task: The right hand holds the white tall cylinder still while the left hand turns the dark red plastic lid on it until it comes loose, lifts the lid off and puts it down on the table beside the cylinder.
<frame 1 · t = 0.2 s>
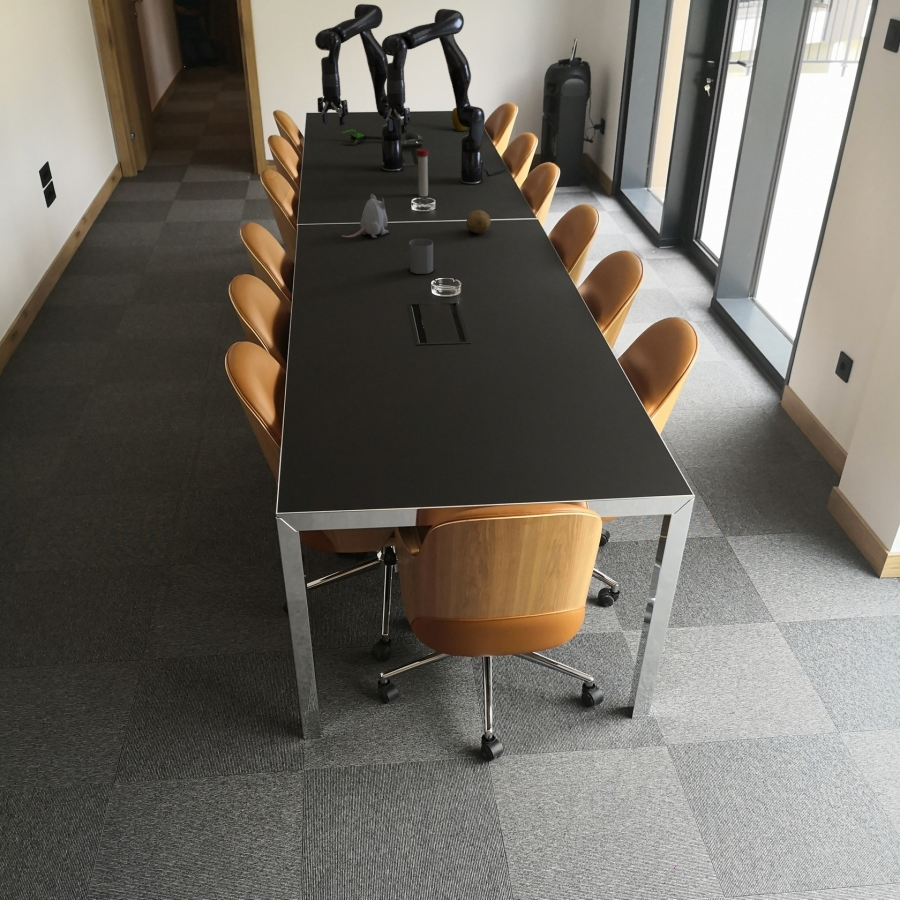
left hand: (333, 124, 373), 29 cm above the table, tool pointing down, fingers open, 8 cm apart
right hand: (397, 132, 361), 29 cm above the table, tool pointing down, fingers open, 8 cm apart
toy: (364, 238, 337), on the table
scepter: (369, 142, 467), on the table
potato: (478, 232, 343), on the table
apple: (461, 130, 491), on the table
cup: (421, 270, 308), on the table
lid: (422, 150, 375), point 19 cm above the table, screwed on, not yet turned
white tall cylinder: (423, 195, 385), on the table
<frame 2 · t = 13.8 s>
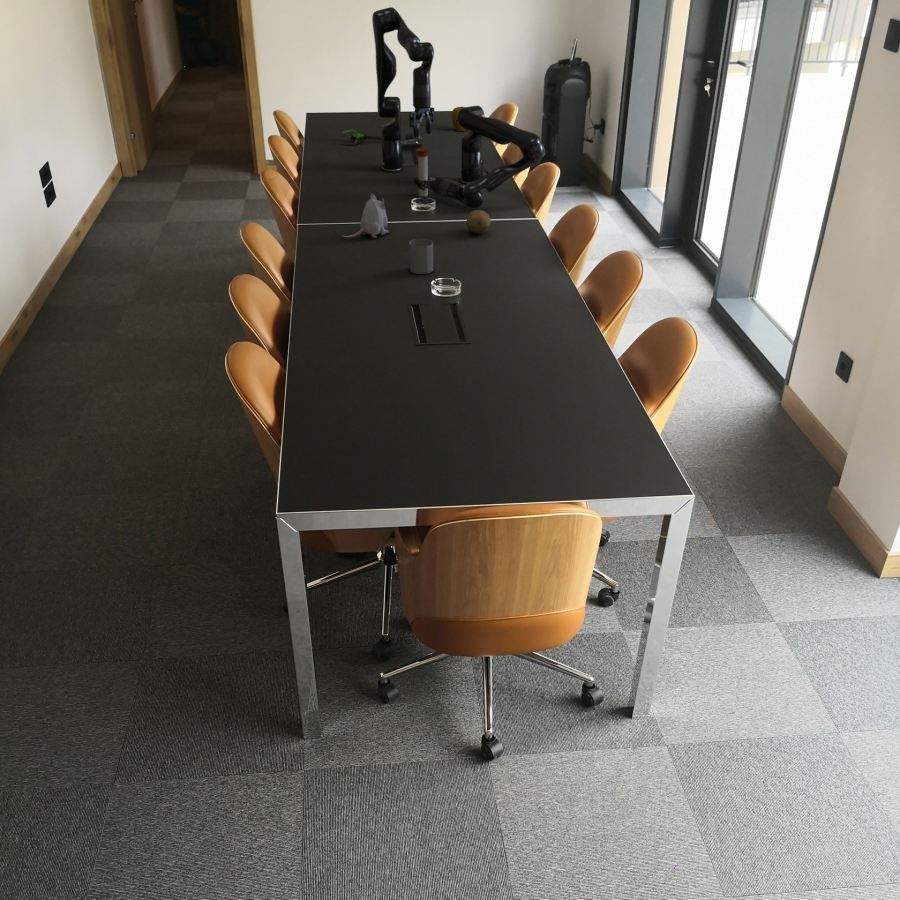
left hand: (422, 135, 371), 26 cm above the table, tool pointing down, fingers open, 7 cm apart
right hand: (418, 179, 384), 6 cm above the table, tool horizontal, fingers closed on white tall cylinder, 4 cm apart
white tall cylinder: (423, 195, 385), on the table, touching right hand
everything else where it was.
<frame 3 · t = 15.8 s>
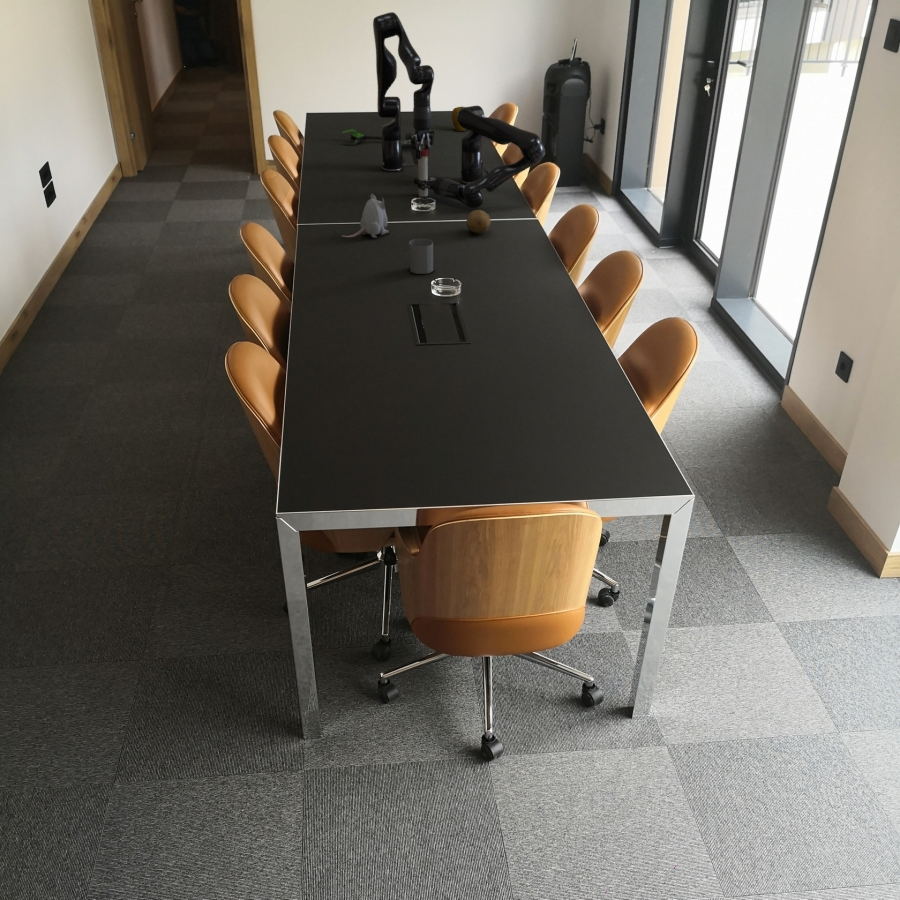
left hand: (422, 157, 376), 16 cm above the table, tool pointing down, fingers closed on lid, 5 cm apart
right hand: (418, 179, 384), 6 cm above the table, tool horizontal, fingers closed on white tall cylinder, 4 cm apart
lid: (422, 150, 375), point 19 cm above the table, screwed on, not yet turned, touching left hand
white tall cylinder: (423, 195, 385), on the table, touching right hand
everything else where it was.
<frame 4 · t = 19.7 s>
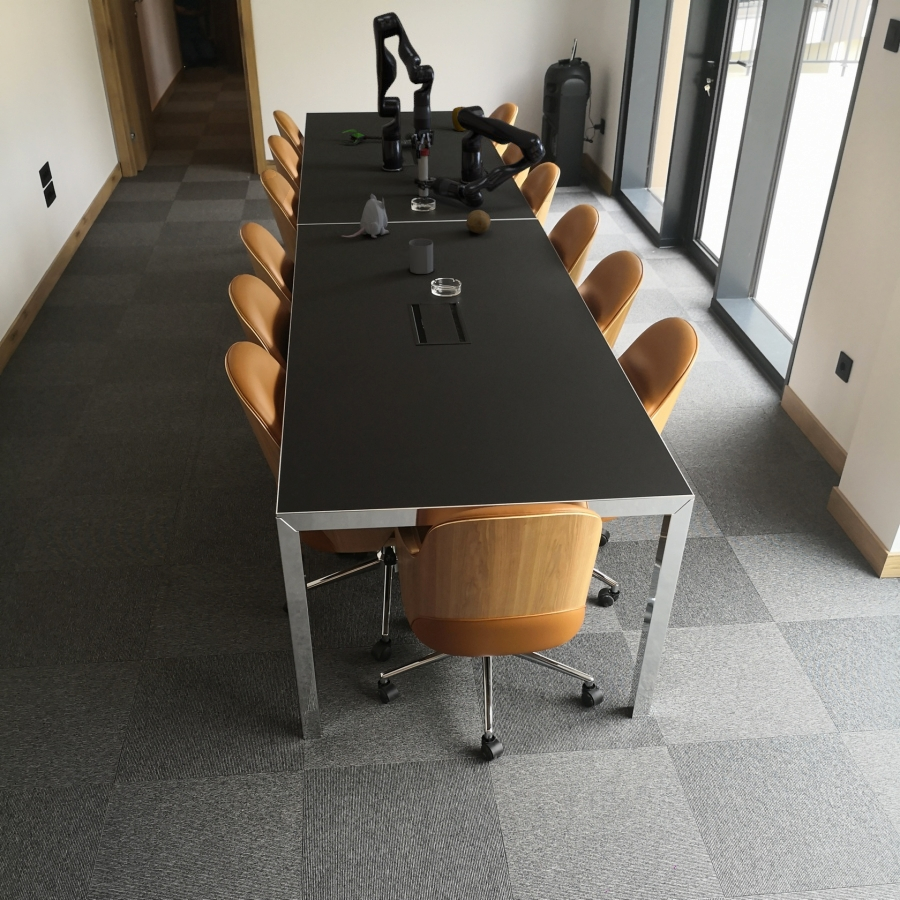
left hand: (422, 157, 376), 17 cm above the table, tool pointing down, fingers closed on lid, 5 cm apart
right hand: (419, 179, 384), 6 cm above the table, tool horizontal, fingers closed on white tall cylinder, 4 cm apart
lid: (422, 150, 375), point 19 cm above the table, turned 95° so far, risen 0.1 cm, still on its thread, touching left hand
white tall cylinder: (423, 195, 385), on the table, touching right hand
everything else where it was.
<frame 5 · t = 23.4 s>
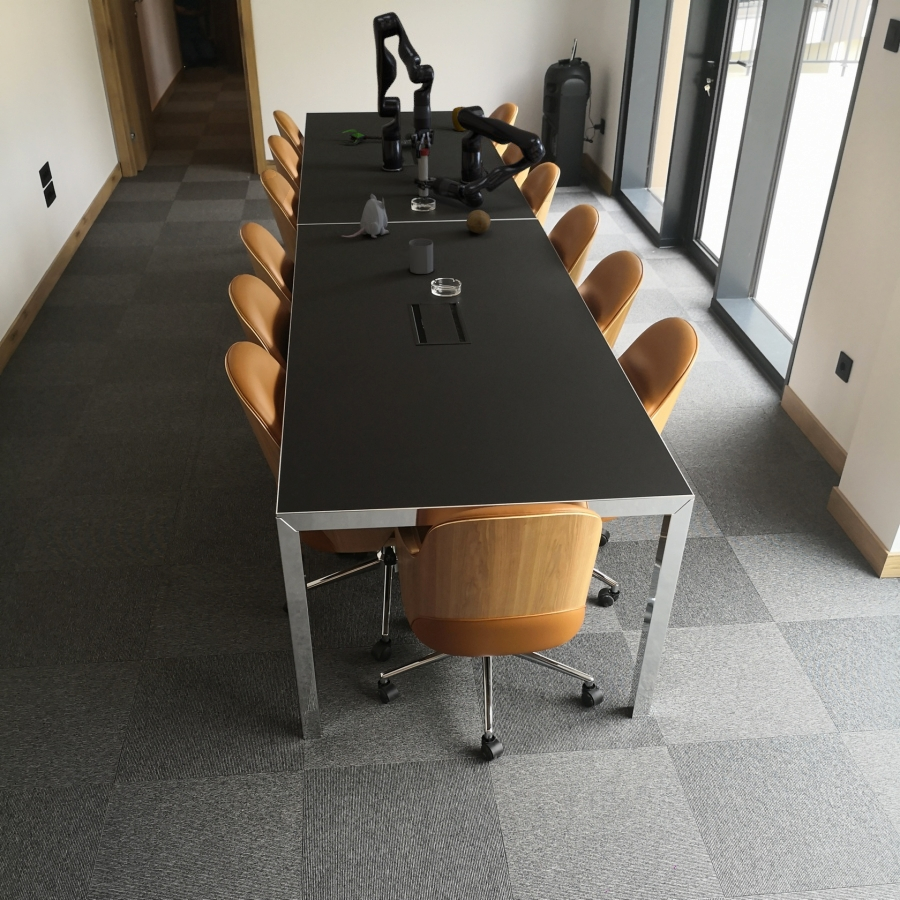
left hand: (422, 156, 376), 17 cm above the table, tool pointing down, fingers closed on lid, 5 cm apart
right hand: (419, 179, 384), 6 cm above the table, tool horizontal, fingers closed on white tall cylinder, 4 cm apart
lid: (422, 150, 375), point 20 cm above the table, turned 191° so far, risen 0.3 cm, still on its thread, touching left hand
white tall cylinder: (423, 195, 385), on the table, touching right hand
everything else where it was.
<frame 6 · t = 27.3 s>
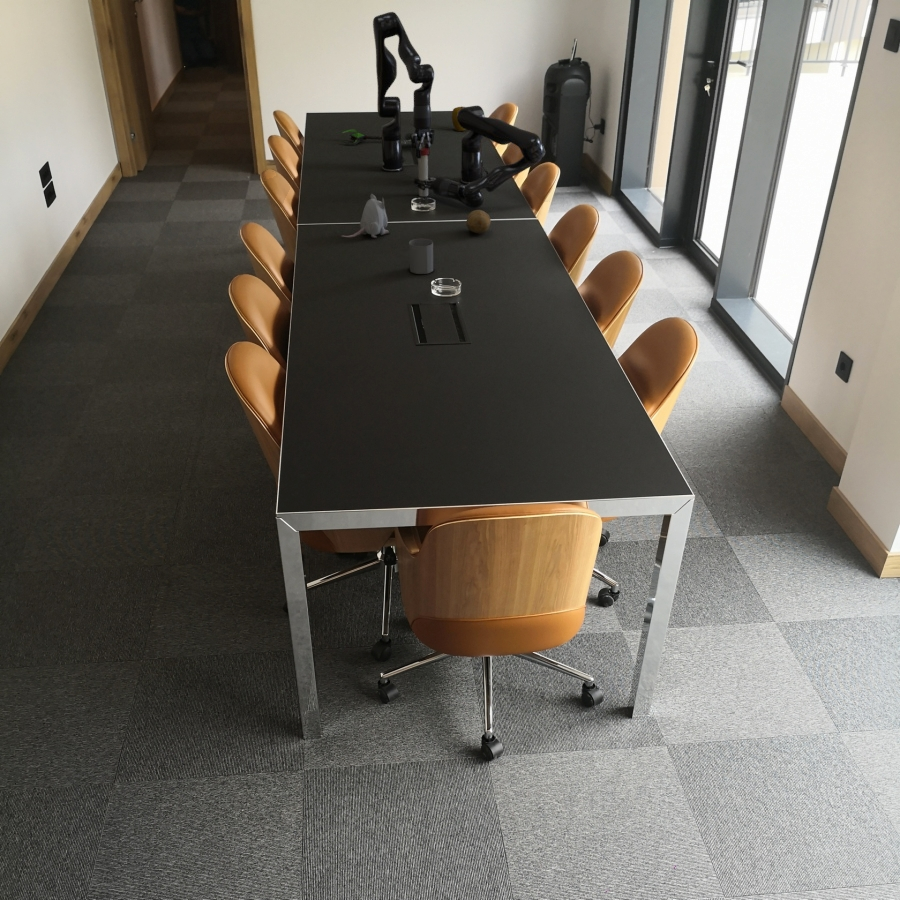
left hand: (422, 156, 376), 17 cm above the table, tool pointing down, fingers closed on lid, 5 cm apart
right hand: (419, 179, 384), 6 cm above the table, tool horizontal, fingers closed on white tall cylinder, 4 cm apart
lid: (422, 149, 375), point 20 cm above the table, turned 286° so far, risen 0.4 cm, still on its thread, touching left hand
white tall cylinder: (423, 195, 385), on the table, touching right hand
everything else where it was.
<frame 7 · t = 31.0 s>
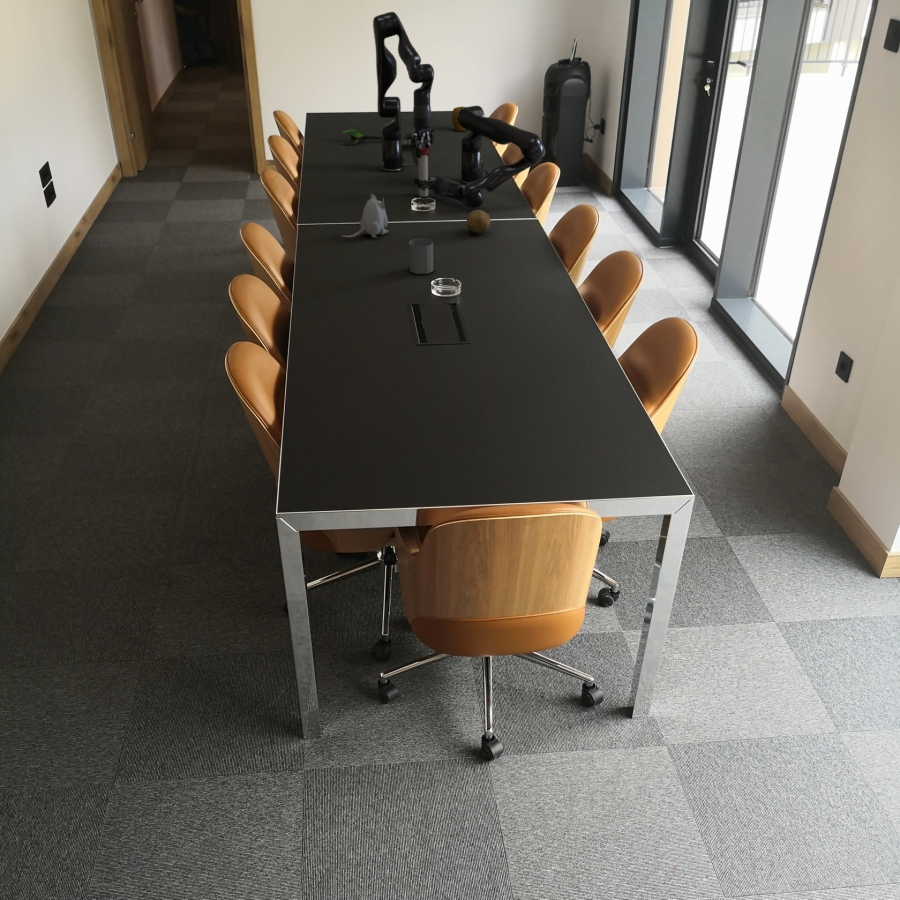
left hand: (422, 156, 376), 17 cm above the table, tool pointing down, fingers closed on lid, 5 cm apart
right hand: (419, 179, 384), 6 cm above the table, tool horizontal, fingers closed on white tall cylinder, 4 cm apart
lid: (422, 149, 375), point 20 cm above the table, turned 381° so far, risen 0.5 cm, still on its thread, touching left hand
white tall cylinder: (423, 195, 385), on the table, touching right hand
everything else where it was.
when the left hand's fingers open (1 cm above the table, at t = 41.7 s): lid drops 2 cm, point 2 cm above the table.
when the right hand's fingers open (6 cm above the table, at t = 42.8 s): white tall cylinder stays where it is, on the table.
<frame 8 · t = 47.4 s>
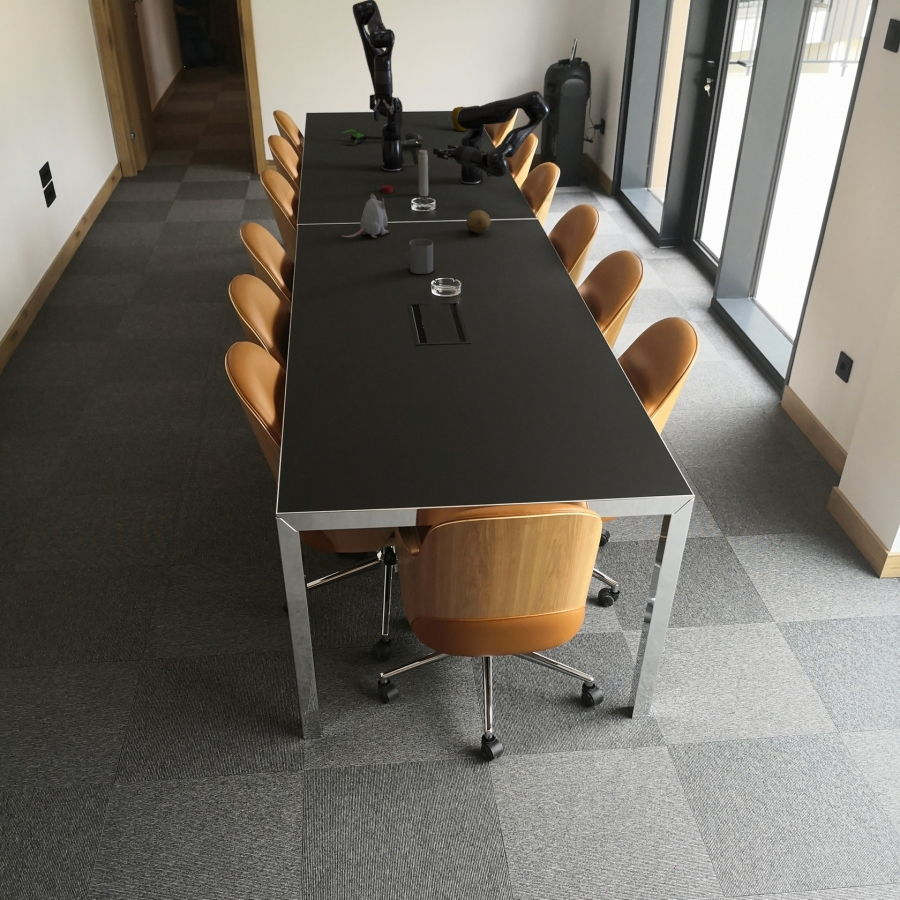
left hand: (385, 121, 374), 30 cm above the table, tool pointing down, fingers open, 8 cm apart
right hand: (441, 149, 367), 22 cm above the table, tool horizontal, fingers open, 8 cm apart
lid: (387, 187, 389), point 2 cm above the table, off its thread
white tall cylinder: (423, 195, 385), on the table
everything else where it was.
at the end: lid came off its thread; lid point 1.8 cm above the table; the left hand is holding nothing; the right hand is holding nothing; white tall cylinder tilted 0°; white tall cylinder moved 0.3 cm from its start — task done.
